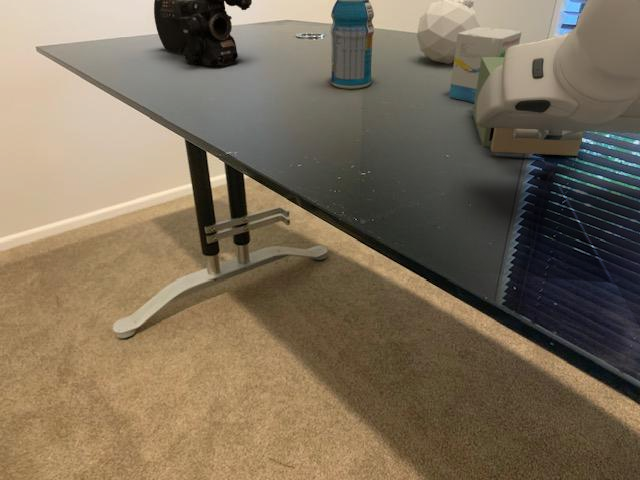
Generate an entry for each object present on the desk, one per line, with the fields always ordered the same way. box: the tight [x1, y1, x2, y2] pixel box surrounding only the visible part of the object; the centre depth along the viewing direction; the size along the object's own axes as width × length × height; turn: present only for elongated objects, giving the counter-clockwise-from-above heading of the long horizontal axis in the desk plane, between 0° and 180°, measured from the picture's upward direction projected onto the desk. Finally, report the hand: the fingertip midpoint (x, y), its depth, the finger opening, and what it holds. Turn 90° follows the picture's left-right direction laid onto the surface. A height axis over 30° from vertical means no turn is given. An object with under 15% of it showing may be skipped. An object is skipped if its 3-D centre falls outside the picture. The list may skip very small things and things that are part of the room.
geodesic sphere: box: [416, 0, 481, 65], centre depth 115 cm, size 15×14×14 cm
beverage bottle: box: [330, 0, 375, 90], centre depth 98 cm, size 8×8×20 cm
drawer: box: [490, 128, 585, 157], centre depth 71 cm, size 18×11×8 cm, turn 171°
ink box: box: [448, 26, 522, 104], centre depth 92 cm, size 8×8×12 cm
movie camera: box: [153, 0, 253, 67], centre depth 122 cm, size 31×18×18 cm, turn 43°
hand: (550, 134), depth 64 cm, fingers closed, pressing on drawer
